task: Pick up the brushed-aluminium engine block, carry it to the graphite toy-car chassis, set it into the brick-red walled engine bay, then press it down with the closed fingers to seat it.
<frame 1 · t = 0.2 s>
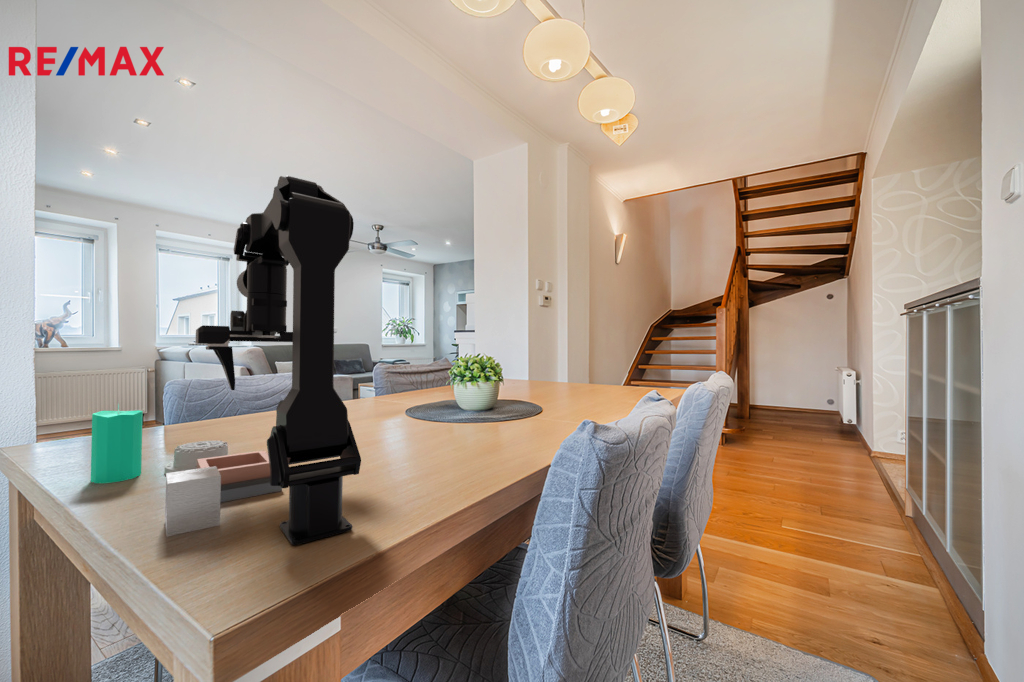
hand: (265, 388, 71), 14 cm above the table, fingers open, 9 cm apart
engine block: (192, 524, 51), on the table
candle: (116, 478, 68), on the table
mechanical component: (201, 470, 74), on the table
chassis: (235, 487, 64), on the table
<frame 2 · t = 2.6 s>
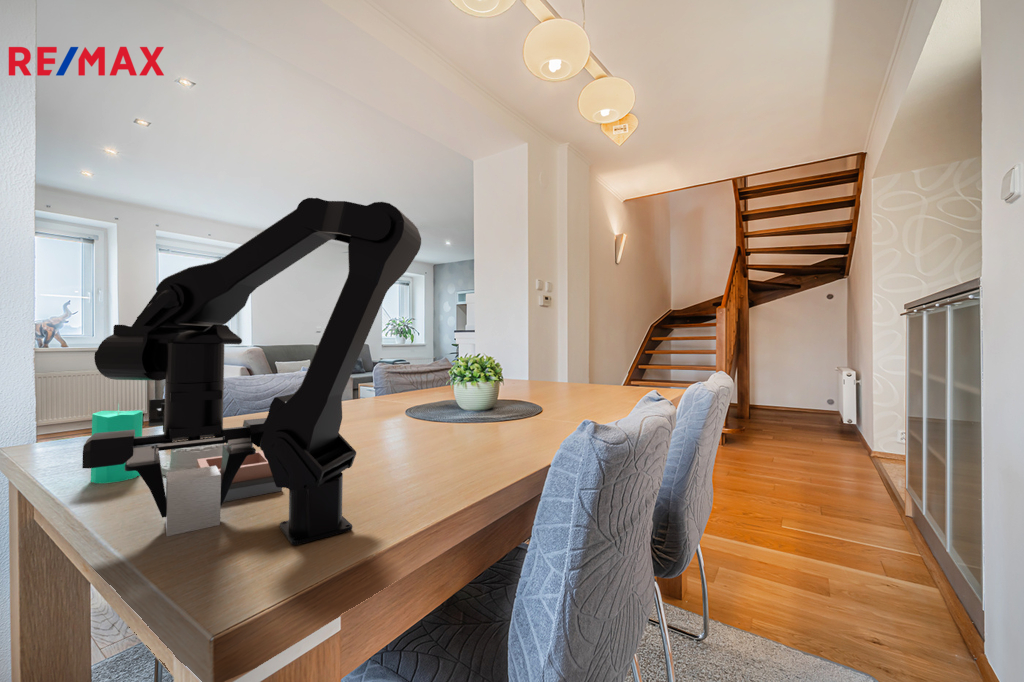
hand: (192, 510, 51), 2 cm above the table, fingers closed on engine block, 5 cm apart
engine block: (192, 523, 51), on the table, touching gripper
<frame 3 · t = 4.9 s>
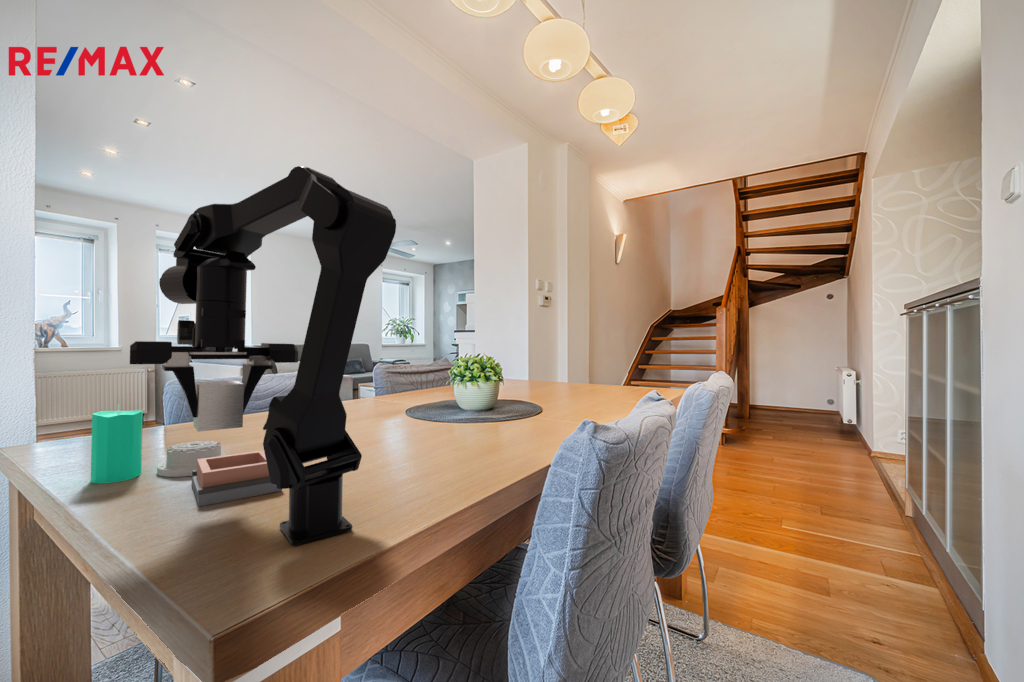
hand: (218, 415, 59), 12 cm above the table, fingers closed on engine block, 5 cm apart
engine block: (217, 426, 59), point 10 cm above the table, touching gripper
when the fingers open (5 cm above the table, at t = 7.3 s): engine block drops 2 cm, resting on chassis.
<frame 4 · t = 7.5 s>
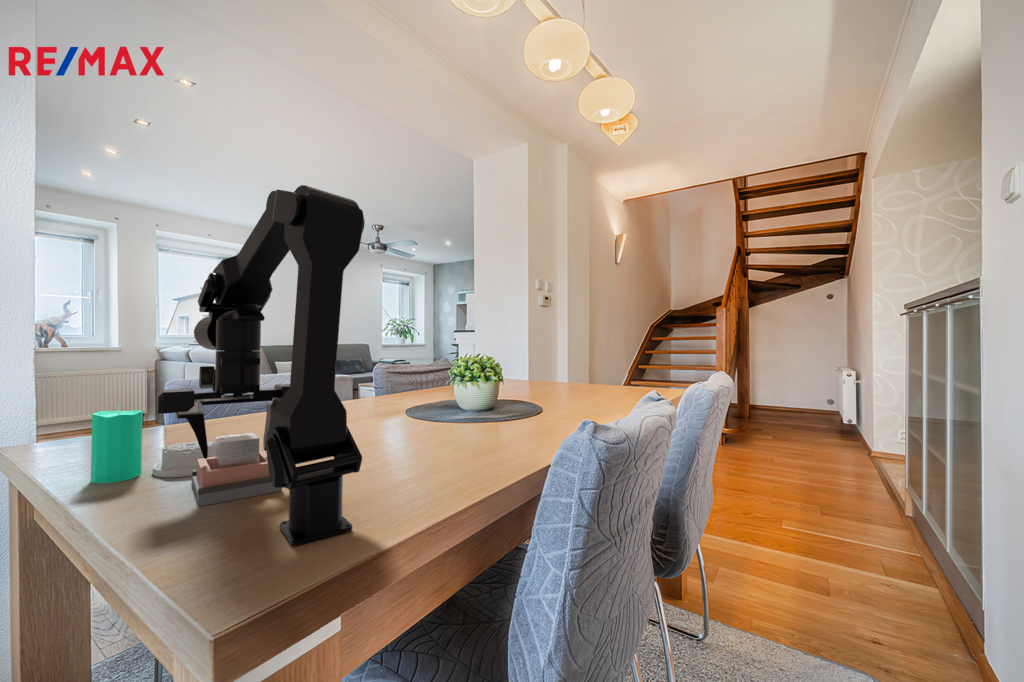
hand: (236, 454, 64), 5 cm above the table, fingers open, 7 cm apart
engine block: (236, 477, 64), point 1 cm above the table, touching chassis
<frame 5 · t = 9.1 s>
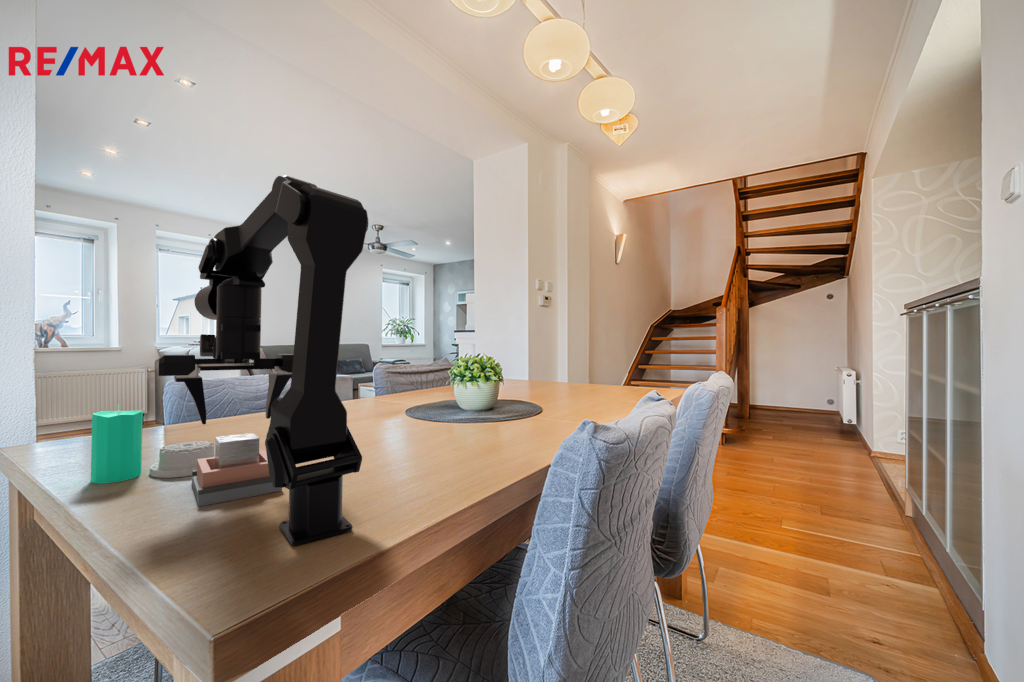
hand: (237, 421, 65), 10 cm above the table, fingers open, 8 cm apart
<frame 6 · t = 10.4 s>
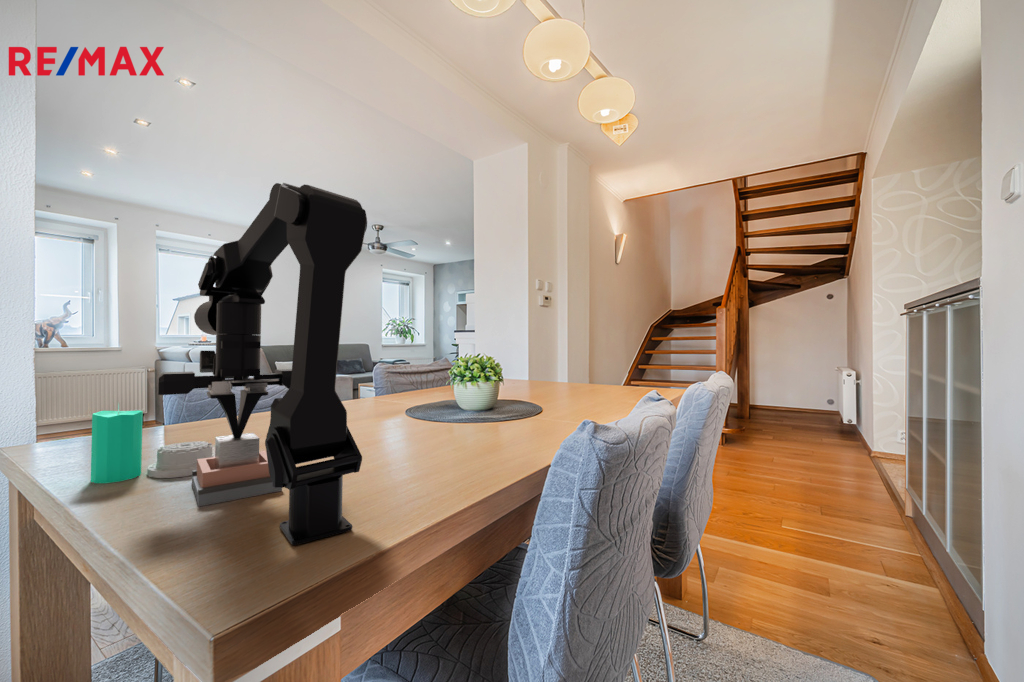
hand: (237, 437, 64), 7 cm above the table, fingers closed, pressing on engine block
engine block: (236, 477, 64), point 1 cm above the table, touching chassis, gripper
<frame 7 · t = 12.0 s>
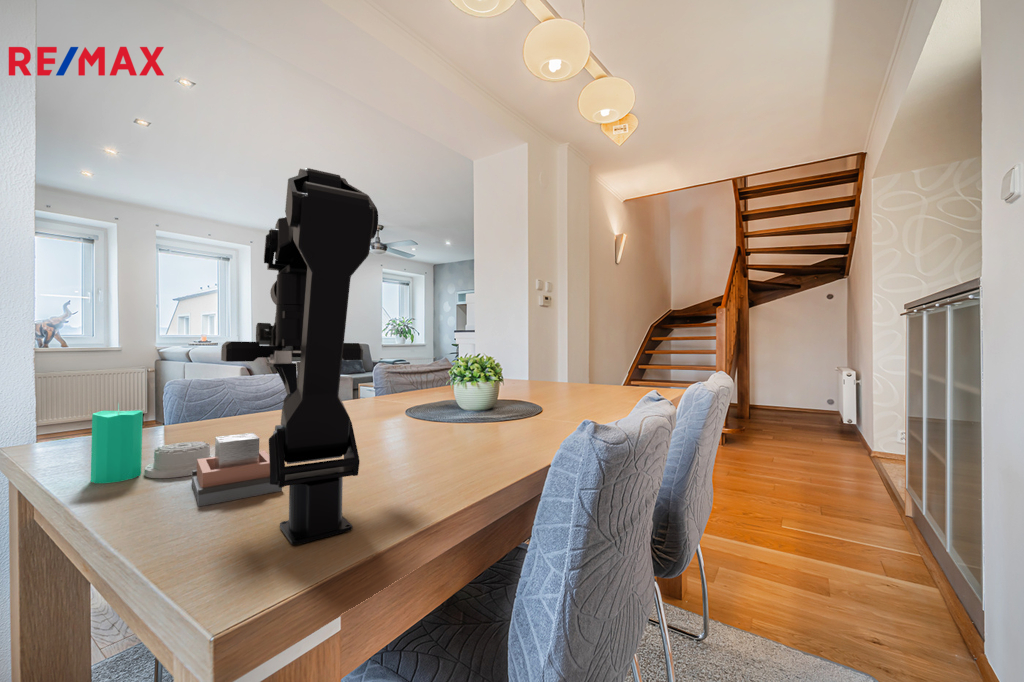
hand: (295, 408, 65), 12 cm above the table, fingers closed
engine block: (236, 477, 64), point 1 cm above the table, touching chassis
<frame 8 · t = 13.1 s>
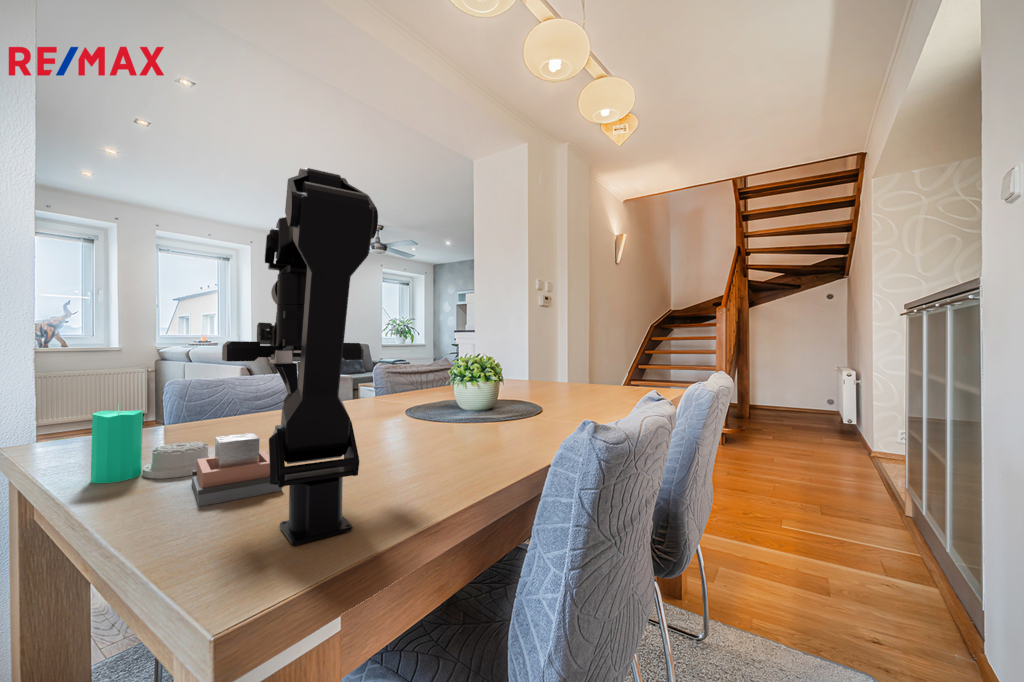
hand: (296, 407, 65), 12 cm above the table, fingers closed
at the end: engine block 0.1 cm off-centre on the chassis, point 1.5 cm above the chassis's base; engine block tilted 0°; the gripper is holding nothing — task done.
